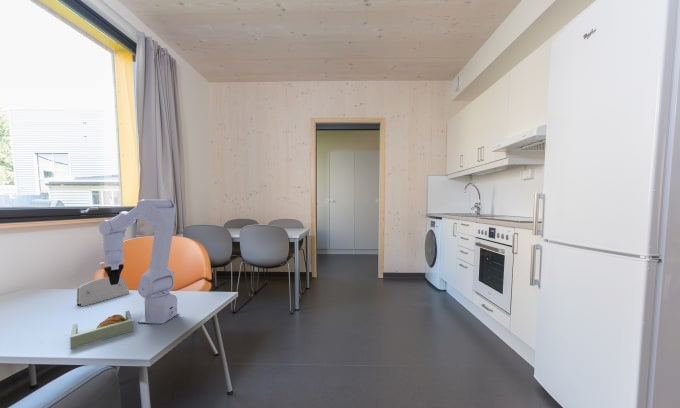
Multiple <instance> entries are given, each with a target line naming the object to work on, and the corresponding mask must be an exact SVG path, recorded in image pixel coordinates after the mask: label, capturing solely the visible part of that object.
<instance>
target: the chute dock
mask: <svg viewBox="0 0 680 408" xmlns="http://www.w3.org/2000/svg"><path fill="white" fill-rule="evenodd" d="M125 319H126V321H123V322H119V323H115V324H111V325H108V326H104V327H100V328H97V327H96V328H97V329H96V328H93V329H90V330H87V331H82V332H79V331H78V328H79V327H78V323H74V324H72V329H71V335H70V341H69V343H70V350H73V349H76V348H80V347H83V346H87V345H90V344H93V343H96V342H100V341H104V340H107V339H110V338H113V337H117V336H120V335H123V334H126V333H129V332H133V331H134V320H133V317H132V314H131V312H130V310H126V311H125ZM86 344H87V345H86Z"/></svg>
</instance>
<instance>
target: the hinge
mask: <svg viewBox="0 0 680 408" xmlns="http://www.w3.org/2000/svg"><path fill="white" fill-rule="evenodd" d="M128 294H130V290H129V288H128V286H127V283H126V281H125V278H124V277H123V276H120V278H119V282H118V284H115V285H111V284H110V281H109V277H107V276H106V277H101V278H98V279H94V280H92V281H89V282H86V283H84V284H82V285H80V286H78V288H77V291H76V305H77V306H79V305H80V306H83V307H86V306H85V305H87V306H89V304H90V305H93V303H94V304H96V302H97V303H100V302H99V301H101V302H103V300H104V301H107V300H106V299H108V300H112V299H114V297H115V298H118V296H119V297H122V296H124V295H128ZM78 304H79V305H78Z"/></svg>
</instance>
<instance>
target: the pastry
mask: <svg viewBox="0 0 680 408" xmlns="http://www.w3.org/2000/svg"><path fill="white" fill-rule="evenodd" d="M123 321H126V317H124V316H123V315H122V314H113V315H111V316H108V317H107V318H106V319H104V320H103V321H101V322H100V323H99V324H98V325H97V327H96V328H95V329H97V328H100V327H104V326H108V325H111V324H115V323H119V322H123Z"/></svg>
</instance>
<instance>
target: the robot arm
mask: <svg viewBox="0 0 680 408" xmlns="http://www.w3.org/2000/svg"><path fill="white" fill-rule="evenodd" d="M176 213H177V205H176V204H175V203H174V201H173V200H172V199H171V198H160V199H159V198H158V199H157V198H155V199H153V198H152V199H151V198H149V199H148V198H142V199H140V200H138V201H137V203H136V206H135V207H133V208H132V209H131V210H129V211H126V210H124V211H119V214H117V215H116V216H113V217H112V218H111V219H108V220H107V219H103V220H101V222H100V223H99V225H98V230H99V232H100V234H101V236H103V237H102V238H103V240H102V241H103V244H102V245H103V261H102V262H99V266H105V267H103V269H104V271H105V272H106V274H107V276H108V277H109V281H110V284H111V285H115V284H118V282H119V278H120V277H121V273H122V271H123V270H124V268H125V266H124V264H123V263H125V258H124V238H125V236H126V232H127V229H128V228H129V227H132V226H133V225H134V224H135V223H136V222H137V219H140V218H141V217H142V218H143V219H144V220H145V221H146V222H147V223H149V224H151V225H153V226H154V232H153V233H154V234H153V240H152V241H153V242H152V248H151V255H150V262H149V268H148V269H147V270H146V271H145V272H144V273H142V275H141V276H140V281H138V282H139V283H138V284H137V292H138V294H139V295H140V297H142V298H144V318H142V319H140V320H139V321H138V324H139V323H140V324H159V325H160V324H161V325H162V324H165V323H166V322H168V321H169V320H171V319H172V318H174V317H175V316H177V315H179V314H180V312H179V311H178V298H177V296H176V295H175V294H173V293H170V292H171V291H172V288H174V285H175V278H174V275H175V272H174V270H172V269H171V268H169V267H168V266H169V260H170V255H171V253H170V252H171V247H172V241H173V234H174V228H175V221H176V220H175V218H176Z"/></svg>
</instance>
